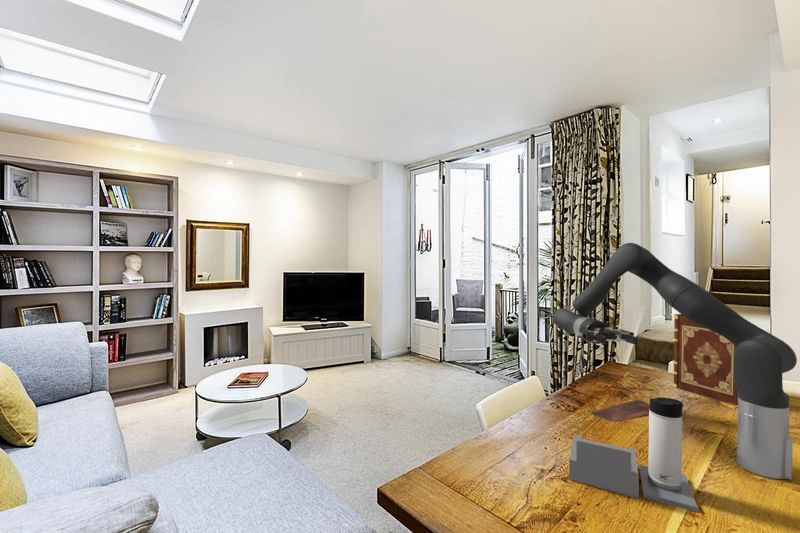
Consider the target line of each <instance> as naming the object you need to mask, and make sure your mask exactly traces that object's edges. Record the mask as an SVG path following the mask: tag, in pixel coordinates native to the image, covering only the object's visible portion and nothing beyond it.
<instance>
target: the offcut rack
mask: <svg viewBox="0 0 800 533" xmlns="http://www.w3.org/2000/svg"><path fill="white" fill-rule="evenodd" d="M638 470H639V467H638V462H637V454H636V449H635V447H631V446H627V448H625V447H620V446H616V445H611V444H607V443H602V442H598V441H593V440H589V439H585V438H581V436H580V435H577V434H574V435H573V438H572V445H571V449H570V456H569V472H568V474H569V478H568V479H569V481H572V482H576V483H579V484H580V483H581V484H583V485H586V486H591V487H595V488H599V489H602V490H605V491H609V492H613V493H617V494H619V495H620V494H621V495H624V496H627V497H631V498H635V499H637V500H638V499H639V498H640V497H639V494H640V493H639V492H640V491H639V489H640V488H639V487H640V486H639V484H640V483H639V482H640V481H639V480H640V478H639V477H640V474H639V471H638Z"/></svg>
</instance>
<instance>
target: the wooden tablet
mask: <svg viewBox="0 0 800 533" xmlns="http://www.w3.org/2000/svg"><path fill="white" fill-rule="evenodd" d="M649 408H650V403H649V402H646V401H644V400H640V399H636V400H635V399H634V400H630V401H625V402H622V403H617V404H614V405H611V406H607V407H603V408H601V409H597V410H594V411H592V412H591V414H592V415H594V416H596V417H598V418H599V419H603V420H605V421H607V422H612V423H613V422H614V423H616V422H617V423H618V422H625V421H628V420H633V419H636V418H639V417H643V416H649Z"/></svg>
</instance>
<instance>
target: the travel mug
mask: <svg viewBox="0 0 800 533" xmlns="http://www.w3.org/2000/svg"><path fill="white" fill-rule="evenodd" d="M649 404H650V408H649V415H648V453H647V454H648V458H647V459H648V464H647V465H648V479H649V480H650V482H651V483H653V484H654V485H656V486H657V487H660V488H662V489H665V490H670V491H677V490H679V489H681V474H682V469H683V468H682V465H683V464H682V460H683V459H682V458H683V407H684V403H683V402H682V401H681V400H679V399H675V398H671V397H656V398H655V397H654V398H649Z"/></svg>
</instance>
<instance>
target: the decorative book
mask: <svg viewBox="0 0 800 533" xmlns="http://www.w3.org/2000/svg"><path fill="white" fill-rule="evenodd" d="M672 318H673V319H674V322H673V323H674V324H673V326H674V327H673V328H672V330H673V331H674V333H673V334H674V336H673V338H672V341H673V359H672V364H673V369H672V374H673V382H672V387H673V388H676V389H680V390H683V391H686V392H690V393H693V394H696V395H701V396H703V397H707V398H711V399H714V400H717V401H721V402H724V403H728V404H732V405H734V406H735V405H736V406H738V390H737V388H736V386H735V382H734V352H735V349H736V347H737V346H735V345H734V344H733V343H731V342H730V341H729V340H727V339H726V338H724V337H723V336H721V335H719V334H717V333H715V332H713V331H711V330H709V329H707V328H704V327H702V326H700V325H698V324H696V323H694V322H692V321H690V320H689V319H687V318H686V317H684V316H683V315H682V314H680V313H675V314H673V317H672Z"/></svg>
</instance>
